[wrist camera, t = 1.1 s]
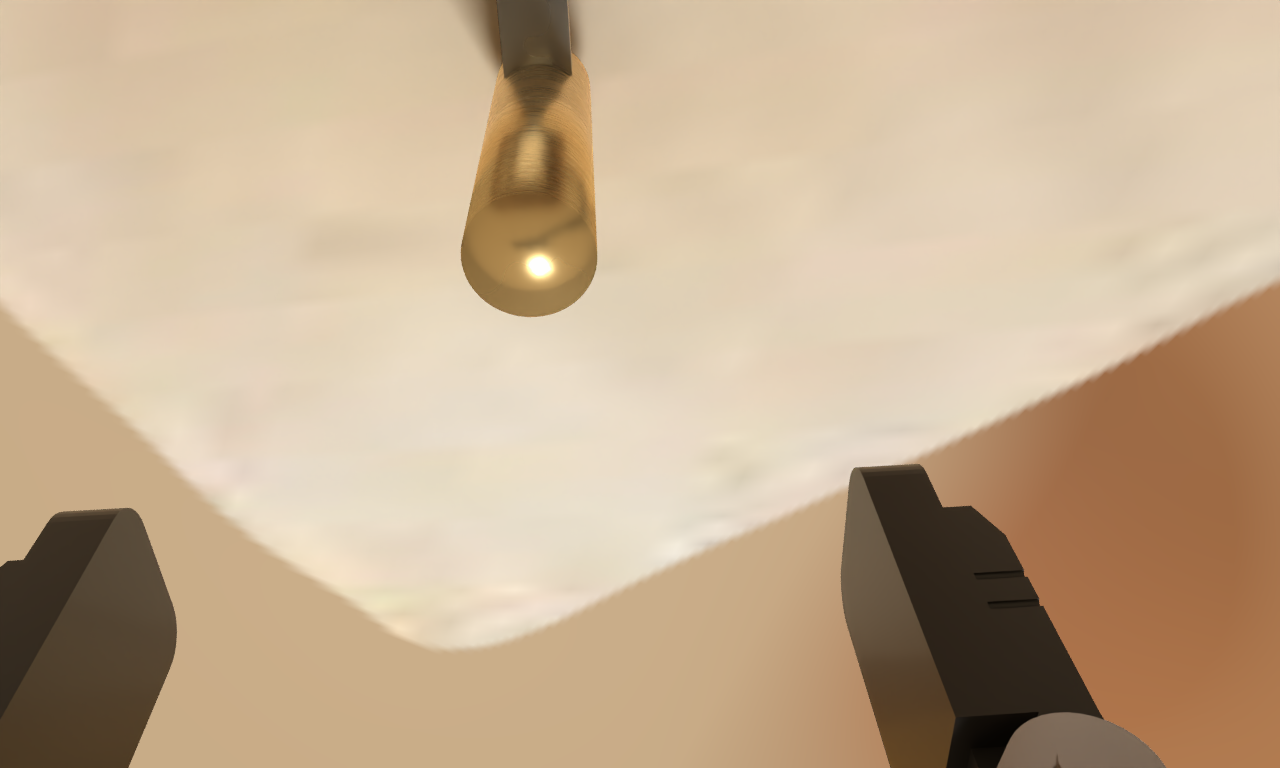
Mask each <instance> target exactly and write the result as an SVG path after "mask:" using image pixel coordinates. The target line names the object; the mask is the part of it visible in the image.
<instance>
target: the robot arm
mask: <svg viewBox="0 0 1280 768" xmlns="http://www.w3.org/2000/svg"><path fill="white" fill-rule="evenodd" d="M841 590H842V601H843V608H844V614H845V619H846V623H847V626H848V630H849V633H850V636H851V640H852V643H853V646H854V649H855V653H856V656H857V659H858V663H859V666H860V669H861V672H862V675H863V679H864V682H865V685H866V689H867V692H868V695H869V699H870V702H871V705H872V708H873V712H874V715H875V718H876V721H877V725H878V728H879V731H880V735H881V738H882V741H883V745H884V748H885V751H886V754H887V758H888V761H889V764H890V767H891V768H1166V767H1165V765H1164V764H1163V763H1162V761H1161V760H1160V758H1159V757H1158V756H1157V755H1156V754H1155V753H1154V752H1153V751H1152V750H1151V749H1150V748H1149V747H1148V746H1147V745H1146V744H1145V743H1144V742H1142V741H1141V740H1140V739H1139V738H1137V737H1136V736H1135V735H1133V734H1131V733H1130V732H1128V731H1127V730H1125V729H1124V728H1121V727H1119V726H1117V725H1115V724H1113V723H1111V722H1109V721H1106V720H1104V719H1103V717H1102V715H1101V714H1100V712H1099V710H1098V709H1097V707H1096V705H1095V703H1094V701H1093V699H1092V697H1091V695H1090V694H1089V692H1088V690H1087V688H1086V686H1085V684H1084V682H1083V680H1082V678H1081V676H1080V675H1079V673H1078V671H1077V669H1076V667H1075V665H1074V663H1073V661H1072V660H1071V658H1070V656H1069V654H1068V652H1067V650H1066V648H1065V646H1064V644H1063V643H1062V641H1061V639H1060V637H1059V635H1058V634H1057V631H1056V629H1055V628H1054V626H1053V624H1052V622H1051V620H1050V618H1049V617H1048V614H1047V613H1046V611H1045V609H1044V607H1043V606H1040V604H1039V597H1038V596H1037V594H1036V592H1035V590H1034V588H1033V586H1032V584H1031V583H1030V581H1029V579H1028V577H1025V576H1024V569H1023V567H1022V565H1021V564H1020V562H1019V560H1018V558H1017V556H1016V554H1015V552H1014V551H1013V549H1012V547H1011V545H1010V543H1009V541H1008V539H1007V537H1006V535H1005V534H1004V533H1002V532H1001V531H1000V530H999V529H998V528H996V527H995V526H994V525H993V524H992V523H991V522H989V521H988V520H987V519H986V518H985V517H983V516H982V515H981V514H980V513H979V512H978V511H976V510H975V509H974V508H972V506H962V507H944V508H943V507H942V505H941V503H940V501H939V499H938V497H937V495H936V492H935V490H934V488H933V486H932V484H931V482H930V480H929V477H928V475H927V473H926V471H925V470H924V468H923V467H922V466H921V465H920V464H909V465H892V466H875V467H858V468H854V469H853V471H852V473H851V476H850V482H849V491H848V502H847V513H846V523H845V534H844V544H843V555H842V566H841ZM176 636H177V627H176V617H175V611H174V608H173V604H172V602H171V599H170V596H169V593H168V591H167V588H166V585H165V582H164V579H163V577H162V574H161V571H160V568H159V566H158V563H157V560H156V557H155V555H154V552H153V549H152V546H151V543H150V541H149V538H148V535H147V532H146V530H145V527H144V524H143V522H142V519H141V518H140V516H139V515H138V513H137V512H136V511H134V510H133V509H131V508H119V509H103V510H102V509H101V510H84V511H67V512H59V513H57V514H55V515H54V516H53V517H52V518H51V519H50V520H49V522H48V523H47V524H46V526H45V528H44V529H43V531H42V532H41V534H40V535H39V537H38V538H37V540H36V542H35V543H34V545H33V546H32V548H31V549H30V551H29V552H28V554H27V556H26V557H25V558H24V560H17V561H7V562H6V563H5V564H4V565H3V566H1V567H0V768H128V767H129V765H130V762H131V760H132V757H133V755H134V753H135V750H136V748H137V746H138V743H139V741H140V738H141V736H142V734H143V731H144V729H145V727H146V724H147V722H148V719H149V717H150V715H151V712H152V710H153V707H154V705H155V703H156V700H157V698H158V695H159V693H160V691H161V688H162V686H163V684H164V681H165V679H166V677H167V674H168V672H169V669H170V667H171V664H172V661H173V658H174V654H175V648H176V638H177V637H176Z"/></svg>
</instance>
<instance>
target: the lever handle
mask: <svg viewBox="0 0 1280 768" xmlns="http://www.w3.org/2000/svg"><path fill="white" fill-rule="evenodd" d="M496 1H497V11H498V21H499V31H500V41H501V51H502V61H503V64H502V66H501V67H500V70H499V73H498V76H497V81H496V85H495V90H494V95H493V99H492V104H491V109H490V113H489V118H488V123H487V128H486V132H485V137H484V142H483V146H482V151H481V156H480V160H479V165H478V170H477V174H476V179H475V184H474V188H473V193H472V198H471V203H470V207H469V212H468V217H467V221H466V226H465V231H464V235H463V240H462V245H461V261H462V266H463V270H464V273H465V276H466V278H467V280H468V282H469V284H470V285H471V286H472V288H473V289H474V291H475V292H476V293H477V294H478V295H479V296H480V297H481V298H482V299H483V300H484V301H486V302H487V303H488V304H490V305H491V306H493V307H495V308H497V309H499V310H501V311H503V312H506V313H509V314H513V315H517V316H524V317H538V316H545V315H550V314H553V313H556V312H559V311H561V310H563V309H565V308H567V307H569V306H570V305H572V304H573V303H574V302H576V301H577V300H578V299H579V298H580V297H581V296H582V295H583V294H584V292H585V291H586V290H587V288H588V287H589V285H590V283H591V281H592V279H593V277H594V274H595V271H596V265H597V239H596V215H595V191H594V167H593V144H592V120H591V96H590V82H589V78H588V74H587V72H586V69H585V68H584V66H583V64H582V63H581V61H580V60H579V59H578V58H577V57H576V56H575V55H574V54H573V53H572V52H571V38H570V22H569V7H568V0H496Z"/></svg>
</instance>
